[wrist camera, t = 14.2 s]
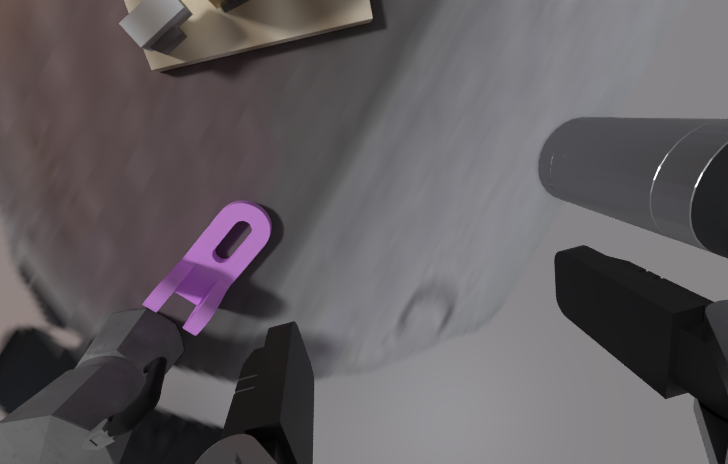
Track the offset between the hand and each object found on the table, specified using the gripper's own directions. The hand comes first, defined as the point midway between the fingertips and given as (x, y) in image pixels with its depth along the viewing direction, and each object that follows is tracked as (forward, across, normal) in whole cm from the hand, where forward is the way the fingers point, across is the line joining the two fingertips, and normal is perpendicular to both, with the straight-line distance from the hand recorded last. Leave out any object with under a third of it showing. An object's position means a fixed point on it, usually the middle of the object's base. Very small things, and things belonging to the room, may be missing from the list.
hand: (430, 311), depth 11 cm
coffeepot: (+28, +27, +13) cm, 41 cm away
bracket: (+28, +16, +5) cm, 33 cm away
